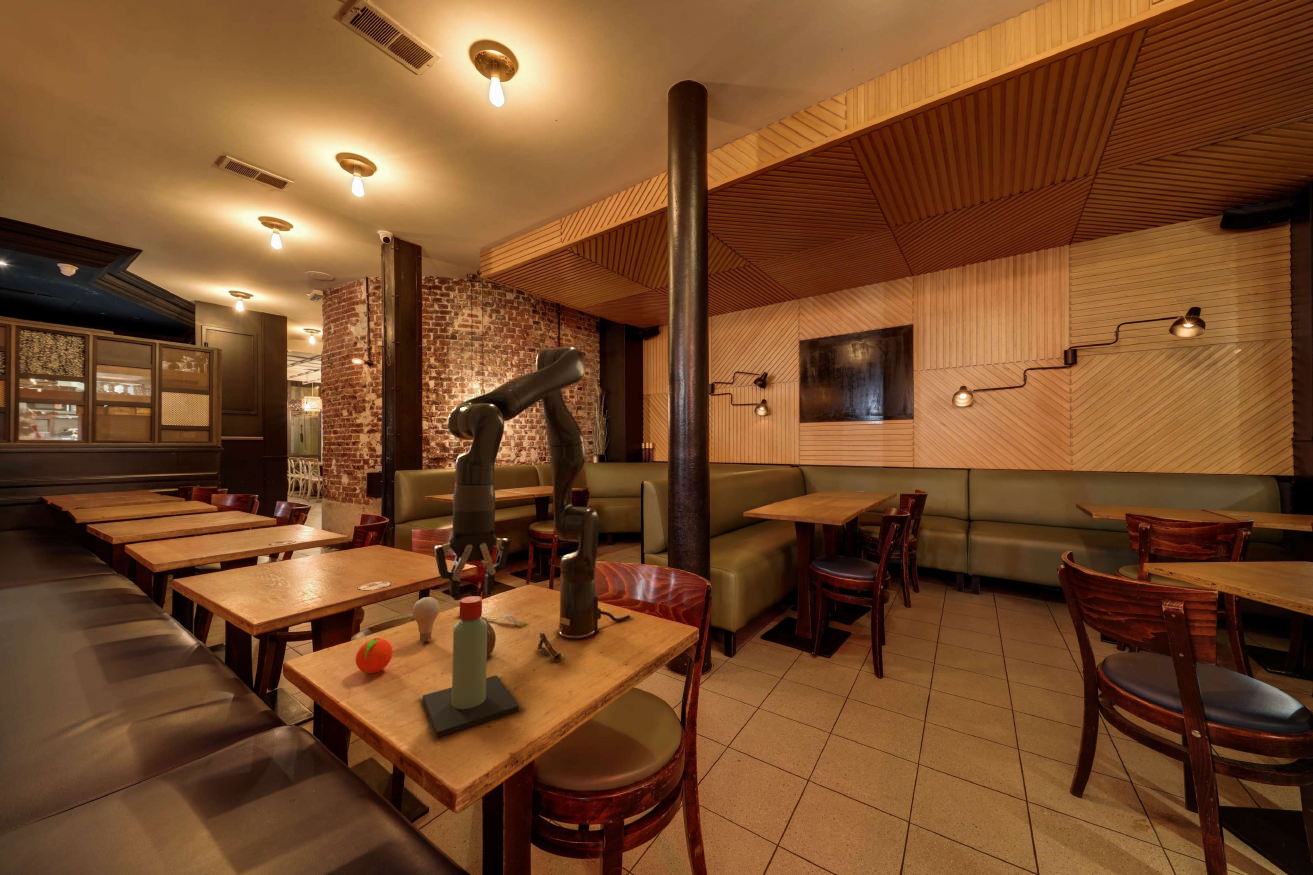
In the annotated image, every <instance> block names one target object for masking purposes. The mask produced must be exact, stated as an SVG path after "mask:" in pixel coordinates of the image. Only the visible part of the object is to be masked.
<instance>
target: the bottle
mask: <svg viewBox="0 0 1313 875" xmlns="http://www.w3.org/2000/svg"><path fill="white" fill-rule="evenodd" d="M452 630H453V631H452V667H451V668H452V670H451V671H452V673H451V674H452V676H451V687H452V706H453V707H455V708H458V709H469V708H473V707H476V706H478V705H480V704H481V703H483V702H484V701H485V699H486V678H487V660H488V659H487V658H488V657H487V623H486V621H485V620H484V619H482V618H481V617H480V618H478V619H475V620H468V621H465V620H461V619H459V620H458V621H457V622H456V623H455V624H454V626H453V628H452Z"/></svg>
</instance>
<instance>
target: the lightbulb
mask: <svg viewBox="0 0 1313 875" xmlns="http://www.w3.org/2000/svg"><path fill="white" fill-rule="evenodd" d="M440 610H441V607H440V603H439V602H438V600H437V599H436V598H434V597H430V596H426V597H422V598H420V599H418V600H417V601H416V602H415V604H414V605H413V608H412V611H411V612H412V613H411V614H412V617H413V619H414V620H415V621H416V623H417V626H418V632H419V640H420V641H421V642H423V643H427V642H429V641H430V640H431V639H432V634H433V633H432V632H433V629H434V624H435V621H436V619H437V618H438V615H439V613H440Z"/></svg>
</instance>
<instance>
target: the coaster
mask: <svg viewBox="0 0 1313 875" xmlns="http://www.w3.org/2000/svg"><path fill="white" fill-rule="evenodd" d="M422 701H423V704H424V707H425V710H426V712H427V715H428V718H429V721H430V723H431V726H432V729H433V731H434V734H435V736H436V738H437V739H438V738H441V737H444V736H447V735H450V734H453V733H456V732H459V731H463V730H465V729H468V728H471V727H473V726H474V727H475V726H478V725H480V724H484V723H486V722H489V721H492V720H496V719H498V718H501V717H504V716H507V715H510V714H514V713H516V712H519V711H520V706H519V704H518V703H517V701H516V700H515V698H514V697H513V695H512V694H511V693H510V691H509V690H508V689H507V687H506V686H505V684H504V683H503V682H502V681H501V679H500V678H499V677H498V675H497V674H495V675H491V676H488V677H486V699H485V701H484V702H483V703H481V704H480V705H478V706H476V707H473V708H469V709H458V708H455V707H453V706H452V686H451V687H448V688H445V689H441V690H437V691H433V692H430V693H427V694H423V695H422Z"/></svg>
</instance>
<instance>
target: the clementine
mask: <svg viewBox="0 0 1313 875" xmlns="http://www.w3.org/2000/svg"><path fill="white" fill-rule="evenodd" d="M393 653H394V651H393V646H392V644H391V643H390V641H388V640H387V639H385V638H382V637H375V638H370V639H368V640H367V641H365V642H364V643H363V644H361V645H360V647H359V648H358V650H357V652H356V655H355V665H356V667H357V669H359V670H360V671H361V672H362V673H365V674H375V673H379V672H381V671H383V669H384V668H387V666H388V665H389V663H390V662H391V660H392V657H393Z"/></svg>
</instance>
